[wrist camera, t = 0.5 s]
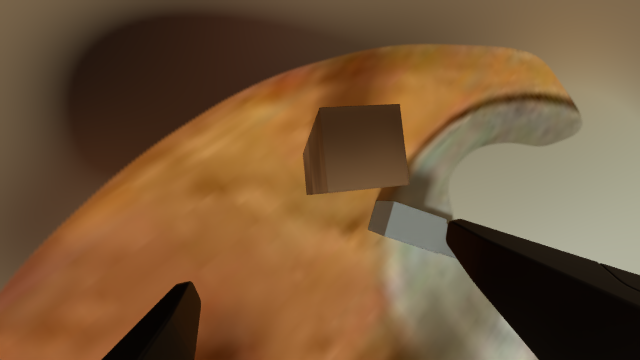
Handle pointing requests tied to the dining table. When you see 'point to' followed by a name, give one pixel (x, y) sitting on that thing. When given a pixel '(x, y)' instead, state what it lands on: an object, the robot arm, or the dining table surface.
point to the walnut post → (355, 149)
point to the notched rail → (410, 226)
